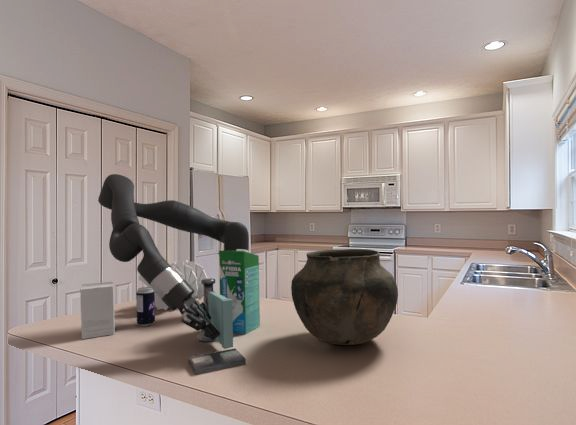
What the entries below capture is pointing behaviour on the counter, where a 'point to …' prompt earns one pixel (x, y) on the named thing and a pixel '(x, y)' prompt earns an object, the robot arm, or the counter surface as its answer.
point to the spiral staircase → (191, 275)
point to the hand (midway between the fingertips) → (216, 337)
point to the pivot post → (206, 288)
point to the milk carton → (241, 287)
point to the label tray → (216, 361)
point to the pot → (344, 295)
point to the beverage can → (145, 306)
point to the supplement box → (97, 310)
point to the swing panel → (221, 318)
